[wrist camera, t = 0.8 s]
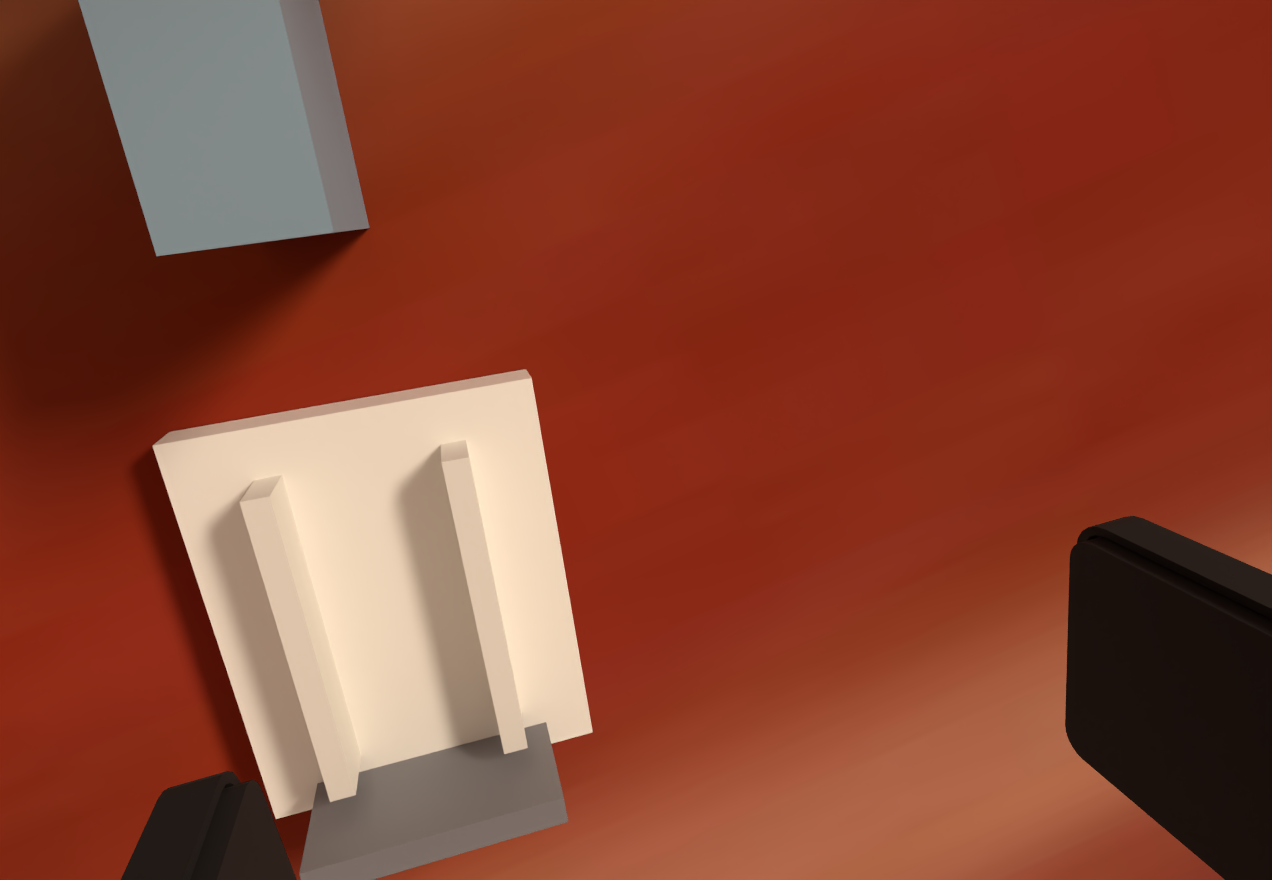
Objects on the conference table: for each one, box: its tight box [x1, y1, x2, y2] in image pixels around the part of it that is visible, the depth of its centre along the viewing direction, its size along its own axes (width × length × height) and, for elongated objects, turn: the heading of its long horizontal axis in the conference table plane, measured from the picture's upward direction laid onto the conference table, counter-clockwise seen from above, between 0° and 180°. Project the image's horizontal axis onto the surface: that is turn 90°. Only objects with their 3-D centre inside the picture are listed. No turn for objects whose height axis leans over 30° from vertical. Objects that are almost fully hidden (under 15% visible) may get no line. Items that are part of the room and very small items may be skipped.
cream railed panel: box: [153, 369, 592, 880], centre depth 31 cm, size 17×14×7 cm
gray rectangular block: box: [78, 0, 369, 256], centre depth 23 cm, size 10×4×12 cm, turn 8°
